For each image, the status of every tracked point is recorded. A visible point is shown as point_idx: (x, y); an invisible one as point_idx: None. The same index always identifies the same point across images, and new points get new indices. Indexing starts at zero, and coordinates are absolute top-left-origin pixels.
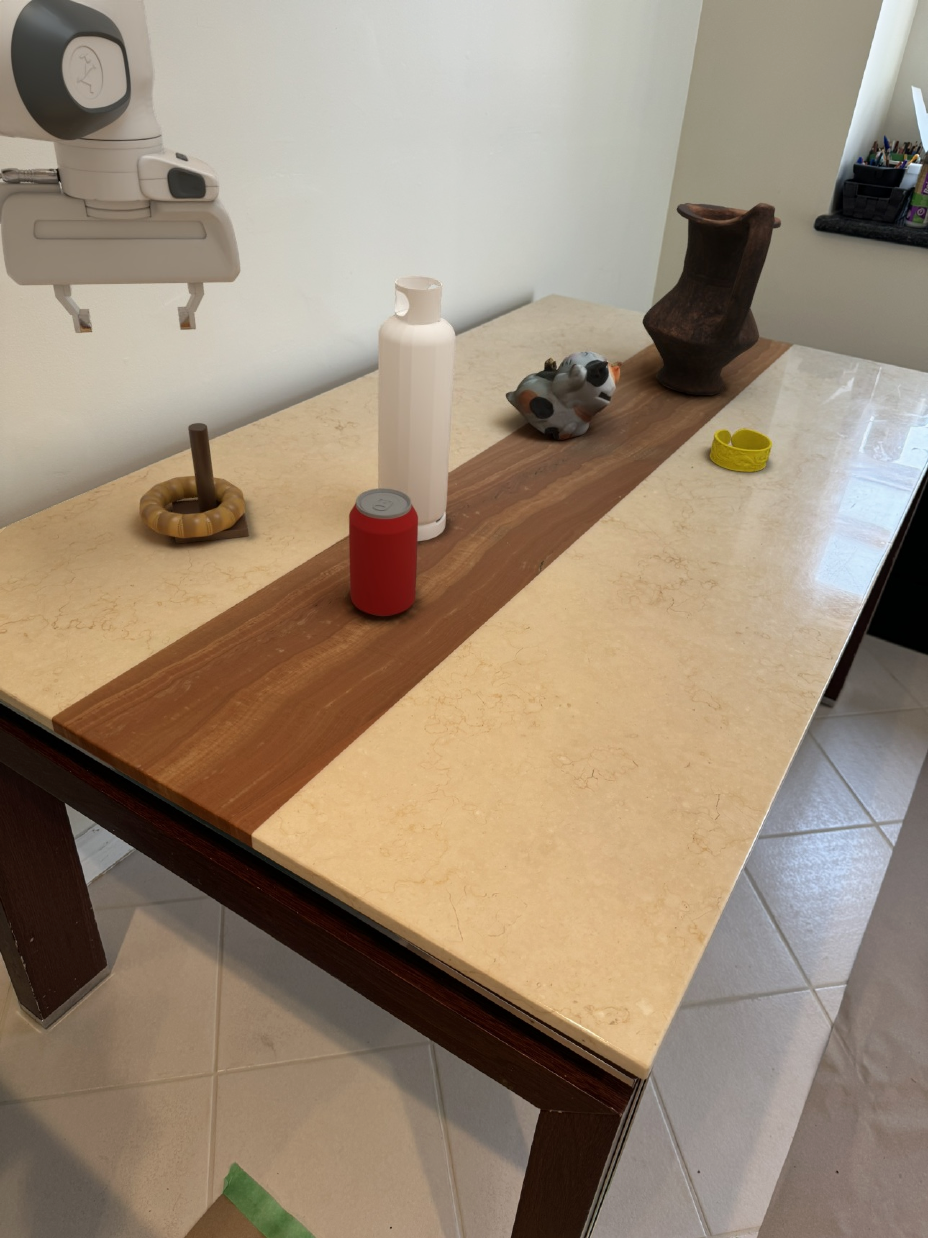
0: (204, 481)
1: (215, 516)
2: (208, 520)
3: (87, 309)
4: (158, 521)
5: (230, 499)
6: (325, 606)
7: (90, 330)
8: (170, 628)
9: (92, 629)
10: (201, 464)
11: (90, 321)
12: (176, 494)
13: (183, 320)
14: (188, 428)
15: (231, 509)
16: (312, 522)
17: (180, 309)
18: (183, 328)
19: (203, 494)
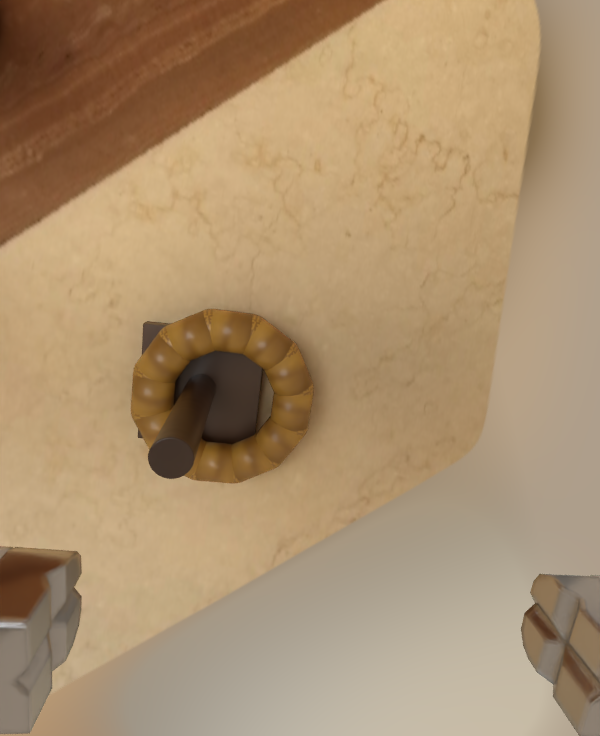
0: (192, 395)
1: (192, 325)
2: (206, 317)
3: (588, 729)
4: (289, 344)
5: (155, 372)
6: (51, 46)
7: (551, 576)
8: (314, 87)
9: (421, 132)
10: (189, 407)
11: (546, 655)
12: (245, 440)
13: (27, 581)
14: (194, 456)
15: (159, 343)
16: (27, 333)
17: (10, 683)
18: (58, 550)
19: (201, 389)
